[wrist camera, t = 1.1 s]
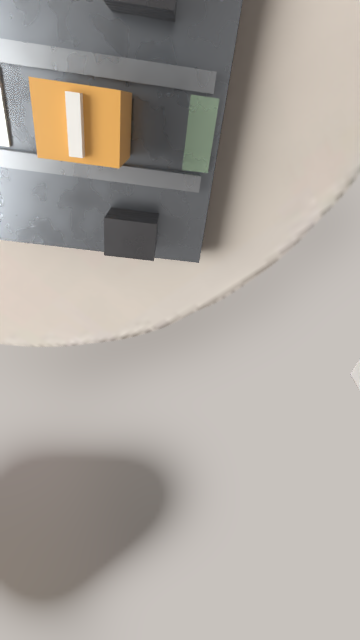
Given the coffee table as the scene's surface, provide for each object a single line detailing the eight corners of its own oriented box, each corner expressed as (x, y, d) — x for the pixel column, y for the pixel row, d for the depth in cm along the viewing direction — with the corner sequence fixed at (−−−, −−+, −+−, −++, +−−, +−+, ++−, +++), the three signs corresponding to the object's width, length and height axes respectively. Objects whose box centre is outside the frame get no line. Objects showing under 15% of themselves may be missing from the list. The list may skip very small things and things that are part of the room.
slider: (57, 81, 22) (24, 75, 17) (132, 92, 22) (118, 89, 17) (62, 148, 24) (33, 159, 19) (130, 157, 24) (117, 170, 20)
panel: (-49, -96, 19) (-120, -159, 15) (245, -44, 20) (263, -87, 16) (9, 230, 30) (-22, 252, 26) (197, 252, 32) (200, 277, 27)
